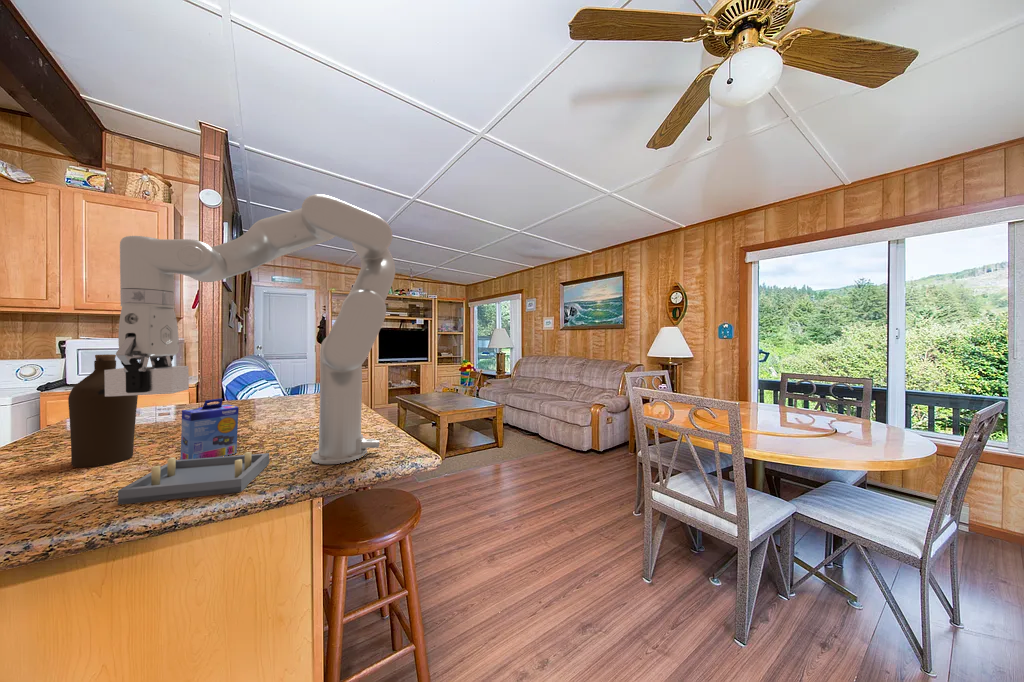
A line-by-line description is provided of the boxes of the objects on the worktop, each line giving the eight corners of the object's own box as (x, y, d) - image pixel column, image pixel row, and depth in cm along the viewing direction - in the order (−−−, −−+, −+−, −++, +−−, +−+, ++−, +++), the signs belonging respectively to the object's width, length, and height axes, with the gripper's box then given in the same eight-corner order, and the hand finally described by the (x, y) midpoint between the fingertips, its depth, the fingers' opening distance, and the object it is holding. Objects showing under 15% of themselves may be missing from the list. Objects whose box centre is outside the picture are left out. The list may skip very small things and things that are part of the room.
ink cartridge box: (188, 465, 80) (190, 402, 80) (178, 461, 82) (179, 400, 82) (239, 453, 88) (240, 396, 88) (228, 450, 91) (229, 395, 91)
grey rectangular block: (188, 389, 74) (188, 365, 74) (171, 393, 69) (171, 367, 69) (127, 391, 71) (127, 367, 71) (104, 396, 65) (104, 369, 65)
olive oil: (147, 455, 86) (149, 354, 86) (86, 471, 75) (88, 356, 75) (118, 451, 88) (120, 353, 88) (54, 465, 78) (57, 354, 78)
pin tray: (269, 463, 82) (269, 444, 82) (241, 491, 67) (241, 468, 67) (172, 471, 76) (172, 451, 76) (117, 504, 61) (118, 479, 61)
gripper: (142, 296, 63) (143, 395, 63) (195, 304, 79) (196, 383, 79) (87, 294, 60) (88, 398, 60) (153, 303, 77) (154, 385, 77)
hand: (149, 389), depth 70 cm, fingers closed on grey rectangular block, 6 cm apart
